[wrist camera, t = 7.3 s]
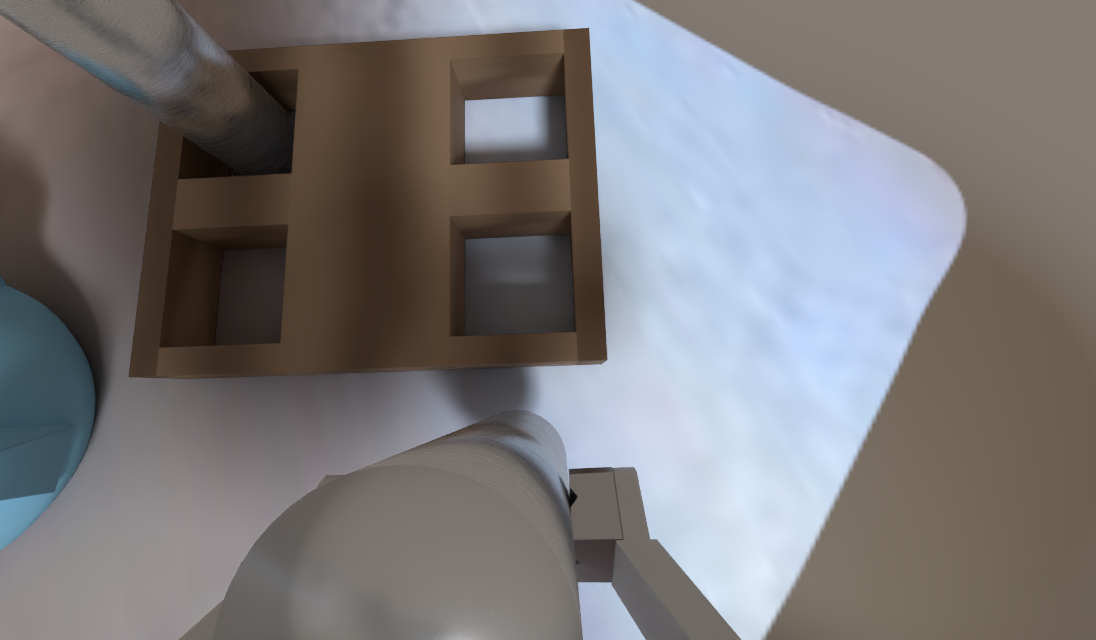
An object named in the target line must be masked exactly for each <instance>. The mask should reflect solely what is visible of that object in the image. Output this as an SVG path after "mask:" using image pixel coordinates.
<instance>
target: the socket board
mask: <svg viewBox="0 0 1096 640" xmlns="http://www.w3.org/2000/svg"><path fill="white" fill-rule="evenodd" d="M226 52H227V53H228V54H229V55H230V56H231V57H232V58H233V59H234V60H235V61H236V62H238V63H239V64H240V65H241V66H242V67H243V68H244V69H245V70H246V71H247V72H248V73H249V74H250V75H251V76H252V77H253V78H254V79H255V80H256V81H257V82H258V83H259V84H260V85H261V86H262V87H263V88H264V89H265V90H266V91H267V92H268V93H269V94H270V95H271V96H272V97H273V98H274V99H275V100H276V101H277V102H278V103H279V104H280V105H281V106H282V107H283V108H284V109H285V110H286V111H291V110H296V115H295V130H294V145H293V160H292V173H291V174H272V175H253V176H234V177H230V169H231V167H229V166H228V165H226V164H225V163H223V162H222V161H220V160H219V159H217V158H216V157H214V156H213V155H211V154H210V153H208V152H207V151H205V150H204V149H202V148H201V147H199V146H198V145H196V144H194V143H193V142H191V141H190V140H188V139H187V138H185V137H184V136H182V135H181V134H179V133H178V132H176V131H175V130H173V129H172V128H170V127H169V126H167V125H166V124H164V123H163V122H161V121H160V124H159V133H158V141H157V149H156V157H155V165H154V173H153V182H152V190H151V198H150V206H149V214H148V222H147V231H146V239H145V247H144V255H143V263H142V272H141V280H140V288H139V296H138V304H137V312H136V321H135V329H134V337H133V345H132V353H131V362H130V370H129V377H142V378H176V379H197V378H225V377H253V376H281V375H309V374H338V373H366V372H394V371H422V370H450V369H478V368H507V367H535V366H563V365H591V364H602V363H604V362H605V361H606V360H607V347H606V328H605V310H604V292H603V274H602V256H601V238H600V219H599V201H598V183H597V165H596V147H595V128H594V110H593V92H592V74H591V56H590V38H589V28H581V29H565V30H549V31H533V32H517V33H502V34H486V35H470V36H454V37H438V38H422V39H407V40H391V41H375V42H359V43H343V44H327V45H311V46H296V47H280V48H264V49H248V50H232V51H226ZM551 95H564V98H565V122H566V145H567V159H558V160H539V161H520V162H501V163H481V164H465V100H482V99H499V98H516V97H534V96H551ZM564 234H570V237H571V260H572V283H573V306H574V329H575V332H558V333H532V334H506V335H480V336H465V239H478V238H499V237H521V236H543V235H564ZM283 247H287V249H286V264H285V279H284V294H283V309H282V324H281V339H280V343H270V344H244V345H218V346H214V343H215V332H216V321H217V311H218V300H219V289H220V278H221V267H222V256H223V250H240V249H262V248H283Z"/></svg>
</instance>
